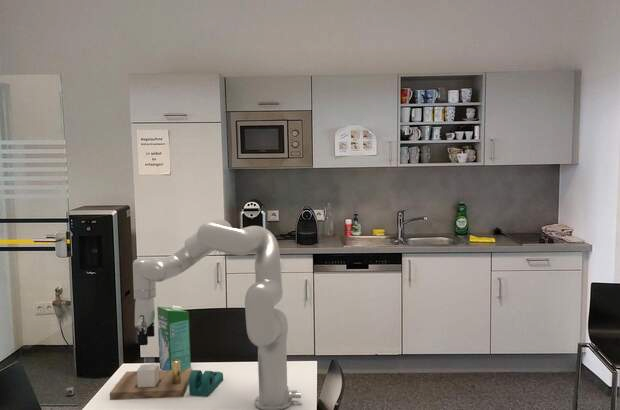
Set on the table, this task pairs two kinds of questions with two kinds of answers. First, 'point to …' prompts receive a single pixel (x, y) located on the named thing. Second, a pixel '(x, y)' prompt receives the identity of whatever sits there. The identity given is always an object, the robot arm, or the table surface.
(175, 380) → the brass pin
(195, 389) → the bracket
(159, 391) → the walnut board
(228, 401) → the table surface
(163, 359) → the milk carton
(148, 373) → the cream cube
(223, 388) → the table surface
